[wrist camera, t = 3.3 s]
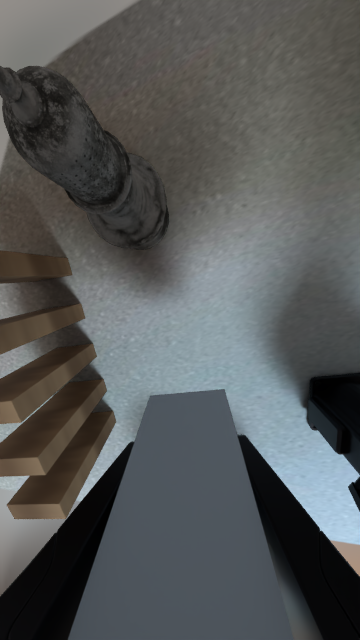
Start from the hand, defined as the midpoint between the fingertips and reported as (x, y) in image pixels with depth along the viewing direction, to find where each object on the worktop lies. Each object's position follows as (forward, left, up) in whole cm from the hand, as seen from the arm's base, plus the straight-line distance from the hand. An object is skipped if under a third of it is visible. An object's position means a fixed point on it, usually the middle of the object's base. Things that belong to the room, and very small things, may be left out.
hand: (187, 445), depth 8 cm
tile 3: (+13, -1, -11) cm, 17 cm away
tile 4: (+13, -5, -11) cm, 18 cm away
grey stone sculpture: (+3, -13, -11) cm, 17 cm away
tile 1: (+13, +8, -11) cm, 19 cm away
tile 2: (+13, +4, -11) cm, 17 cm away
